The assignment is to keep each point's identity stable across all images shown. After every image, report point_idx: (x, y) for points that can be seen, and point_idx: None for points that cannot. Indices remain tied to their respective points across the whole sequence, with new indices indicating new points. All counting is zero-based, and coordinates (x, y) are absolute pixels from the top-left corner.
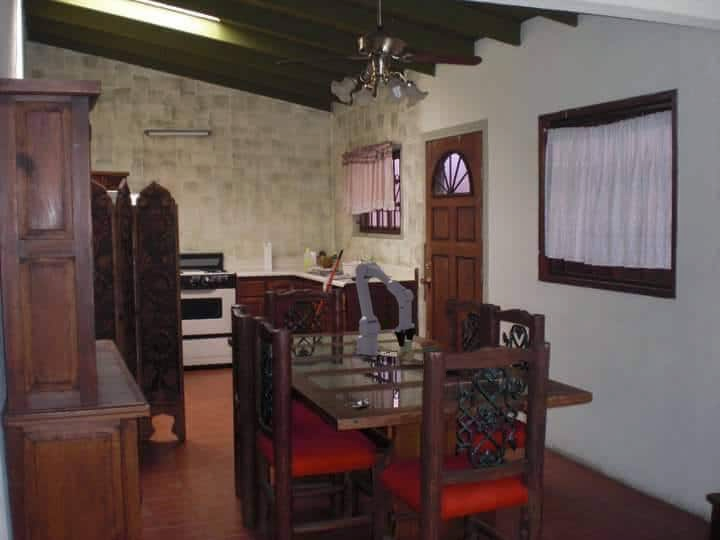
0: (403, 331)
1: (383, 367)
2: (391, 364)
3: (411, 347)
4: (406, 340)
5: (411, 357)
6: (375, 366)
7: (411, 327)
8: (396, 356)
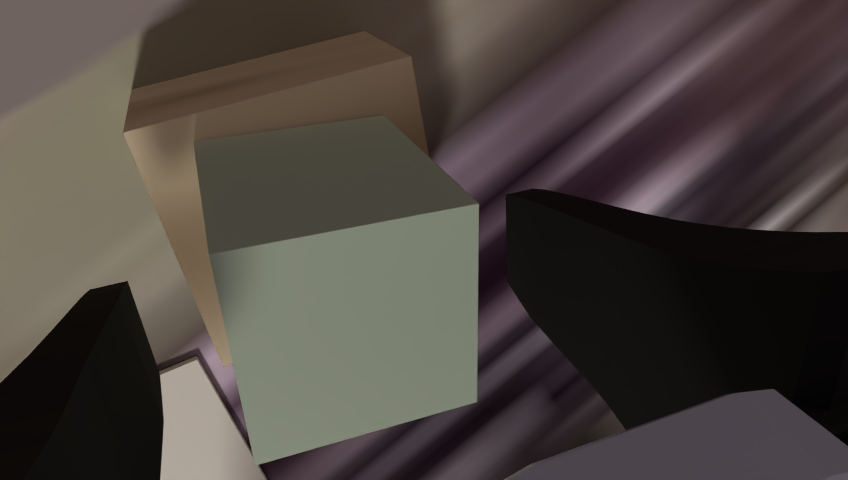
0: (832, 429)
1: (844, 58)
2: (677, 93)
3: (220, 165)
4: (339, 337)
5: (261, 66)
6: (817, 167)
7: (816, 423)
8: (215, 391)
